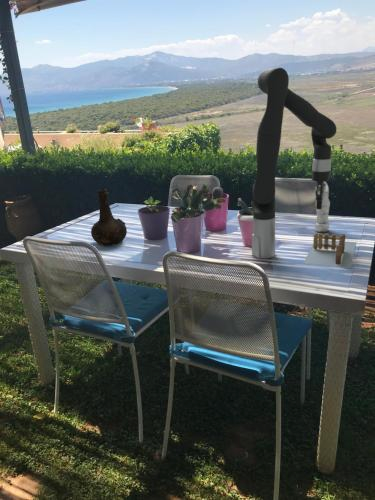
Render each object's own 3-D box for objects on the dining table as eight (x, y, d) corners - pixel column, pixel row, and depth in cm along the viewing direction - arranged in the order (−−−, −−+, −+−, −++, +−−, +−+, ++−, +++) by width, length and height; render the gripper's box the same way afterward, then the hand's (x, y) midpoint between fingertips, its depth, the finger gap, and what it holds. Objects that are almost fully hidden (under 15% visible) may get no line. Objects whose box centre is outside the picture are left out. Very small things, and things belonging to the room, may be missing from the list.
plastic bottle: (329, 233, 202) (331, 193, 195) (315, 233, 203) (316, 193, 197) (328, 229, 208) (330, 190, 201) (314, 229, 209) (315, 191, 203)
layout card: (350, 268, 161) (350, 267, 161) (303, 264, 169) (303, 263, 169) (356, 243, 187) (356, 242, 187) (315, 240, 195) (315, 239, 195)
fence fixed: (340, 264, 164) (341, 246, 162) (335, 264, 165) (336, 246, 163) (343, 252, 177) (344, 235, 174) (339, 252, 178) (339, 235, 175)
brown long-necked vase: (131, 245, 208) (124, 190, 198) (95, 251, 202) (86, 195, 193) (124, 235, 224) (117, 184, 214) (91, 241, 218) (82, 188, 209)
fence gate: (344, 249, 179) (345, 234, 176) (344, 250, 177) (345, 235, 175) (313, 247, 184) (314, 232, 181) (312, 248, 182) (313, 234, 180)
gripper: (329, 172, 170) (326, 213, 176) (331, 166, 181) (329, 205, 187) (310, 171, 173) (308, 212, 179) (313, 166, 184) (311, 204, 190)
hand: (318, 208), depth 183 cm, fingers closed
